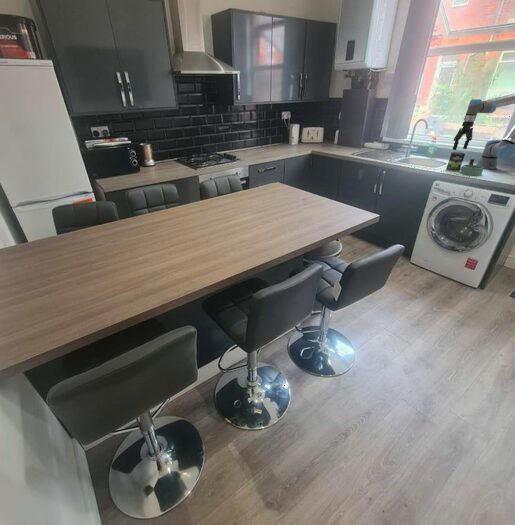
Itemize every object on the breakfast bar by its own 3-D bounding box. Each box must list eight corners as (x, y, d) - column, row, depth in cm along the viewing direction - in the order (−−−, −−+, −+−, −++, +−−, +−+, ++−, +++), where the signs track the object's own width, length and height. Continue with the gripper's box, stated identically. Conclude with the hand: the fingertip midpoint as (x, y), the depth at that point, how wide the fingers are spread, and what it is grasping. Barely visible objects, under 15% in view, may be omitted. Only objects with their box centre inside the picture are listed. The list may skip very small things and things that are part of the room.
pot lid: (463, 167, 263) (467, 156, 259) (482, 170, 252) (487, 159, 247) (455, 169, 256) (458, 158, 251) (474, 172, 245) (478, 161, 240)
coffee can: (460, 172, 247) (465, 154, 240) (446, 170, 251) (451, 153, 244) (459, 169, 255) (464, 152, 247) (445, 168, 259) (450, 151, 252)
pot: (465, 171, 250) (468, 163, 247) (484, 174, 239) (487, 166, 236) (456, 173, 243) (459, 165, 240) (475, 176, 232) (478, 169, 229)
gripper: (463, 122, 226) (454, 150, 237) (483, 121, 235) (473, 149, 246) (454, 121, 232) (445, 149, 242) (474, 120, 241) (464, 147, 252)
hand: (459, 149), depth 244 cm, fingers open, 13 cm apart
